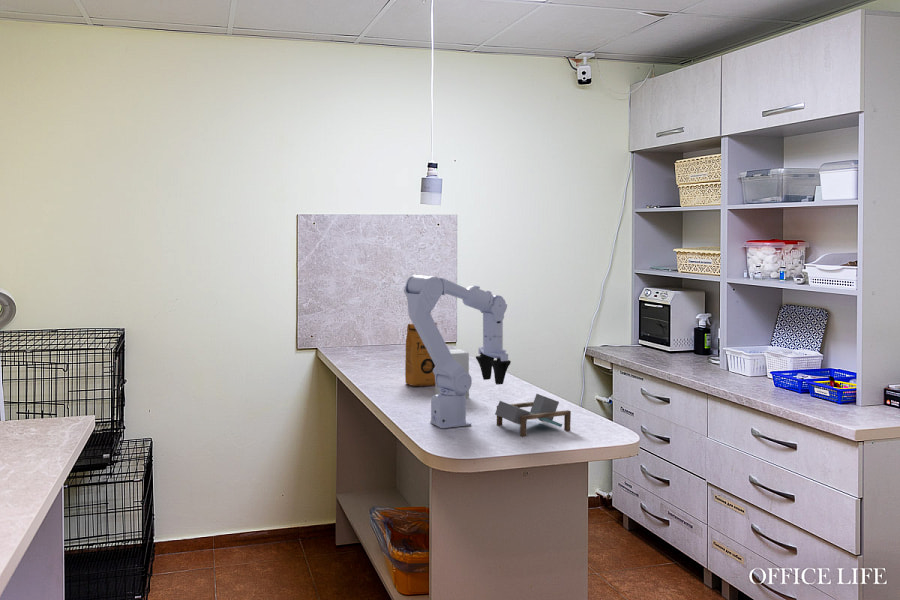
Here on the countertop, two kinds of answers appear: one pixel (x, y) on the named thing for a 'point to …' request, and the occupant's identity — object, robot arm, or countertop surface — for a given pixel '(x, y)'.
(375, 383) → the countertop surface
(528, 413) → the trapdoor
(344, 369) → the countertop surface
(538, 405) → the gray block
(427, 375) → the coffee package
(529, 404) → the frame
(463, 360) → the supplement box
